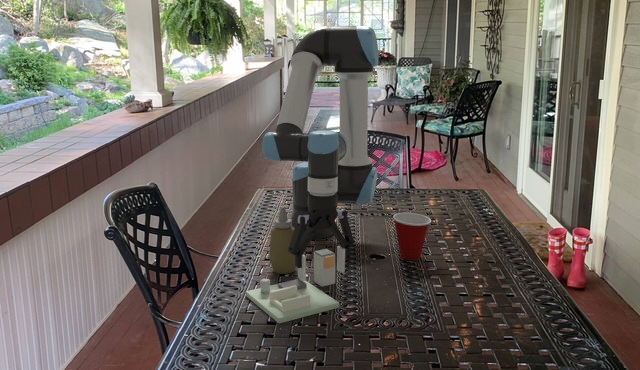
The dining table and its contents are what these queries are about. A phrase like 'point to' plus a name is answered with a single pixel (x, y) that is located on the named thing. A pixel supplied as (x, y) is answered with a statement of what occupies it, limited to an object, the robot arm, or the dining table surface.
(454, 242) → the dining table surface
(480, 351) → the dining table surface
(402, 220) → the plastic cup
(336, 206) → the robot arm
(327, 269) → the plug
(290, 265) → the squeeze bottle
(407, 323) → the dining table surface
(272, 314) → the board
